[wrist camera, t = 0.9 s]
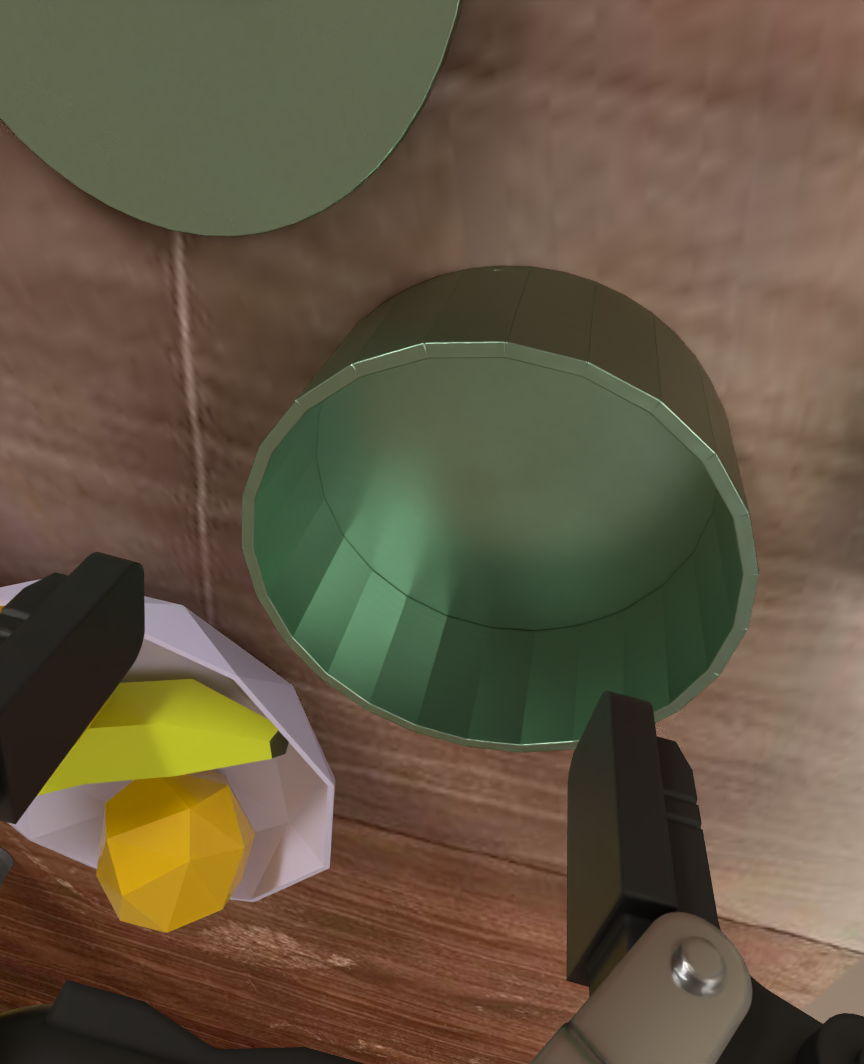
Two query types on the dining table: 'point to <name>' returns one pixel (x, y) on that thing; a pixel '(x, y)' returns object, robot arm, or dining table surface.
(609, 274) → the dining table surface
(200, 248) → the dining table surface
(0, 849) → the beverage cup
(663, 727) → the dining table surface
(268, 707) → the fruit bowl
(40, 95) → the lid
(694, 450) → the green open cylinder
